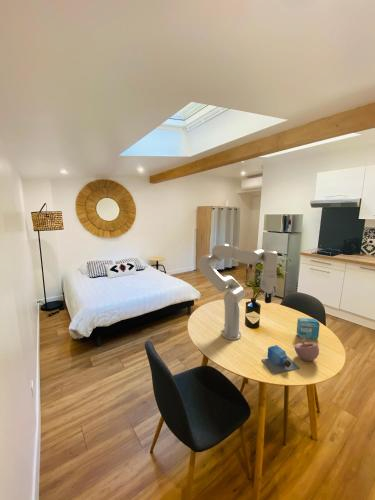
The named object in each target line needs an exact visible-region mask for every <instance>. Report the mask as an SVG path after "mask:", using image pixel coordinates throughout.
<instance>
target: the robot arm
mask: <svg viewBox="0 0 375 500" xmlns="http://www.w3.org/2000/svg"><path fill="white" fill-rule="evenodd" d="M278 255H279V254H278V252H277V251H276V250H275V251H274V250H265V249H261V248H257V249H256V248H255V249H254V250H242V249H240V248H238V246H235V245H229V244H228V243H223V242H222V243H219V244H216V245H214V246H213V247H212V249H211V253H208V254H205V255H203V256H201V257H200V258H199V259H198V262H197V265H198V270H199V272H200V273H201V275H203V276H204V277H205V278H206V279H207V281H209V283H210V284H211V285H212V286H213V288H215V289H216V290H217V292H219V293H223V292H225V293H224V295H223V303H224V325H223V326H224V328H223V329H224V330H223V329H222V331H221V335H222V337H223V338H224V339H227V340H231V341H235V340H236V341H237V340H239V339H241V337H242V333H241V332H240V306H239V302H241V301H242V300H244V298H245V296H246V291H245V289H244V287H243V286H241V284H240V283H239V282H238V281H237V280H236V279H235V278H234V277H233V276H231V275H229V274H224V275H221V274H220V272H219V271H217V269H215V268H213V266H215V265H217V264H219V263H220V262H221V261H223V260H224V259H227V260H233V261H234V262H235V261H236V262H238V263H241V264H247V265H256V264H258V263H262V273H261V277H260V282H259V283H260V285H259V288H260V290H262V291H263V293H264V303H266V304H271V303H272V297H275V296H276V294H277V290H278V286H277V285H278V281H277V279H278V278H277V271H278V270H277V269H278Z"/></svg>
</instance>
